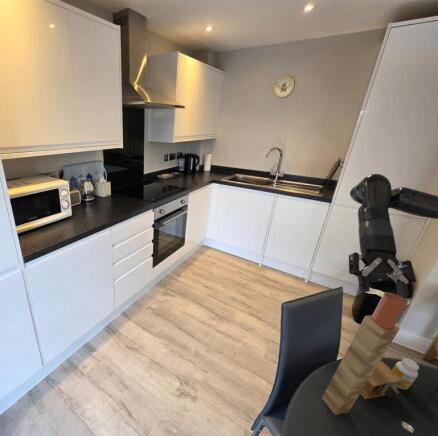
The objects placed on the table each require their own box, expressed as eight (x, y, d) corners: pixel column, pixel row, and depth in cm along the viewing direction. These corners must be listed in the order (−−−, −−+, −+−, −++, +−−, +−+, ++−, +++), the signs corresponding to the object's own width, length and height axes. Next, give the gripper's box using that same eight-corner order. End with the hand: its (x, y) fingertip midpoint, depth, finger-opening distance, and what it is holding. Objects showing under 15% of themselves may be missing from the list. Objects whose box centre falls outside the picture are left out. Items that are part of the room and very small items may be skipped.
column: (334, 395, 80) (379, 314, 67) (348, 412, 76) (400, 328, 62) (321, 398, 79) (364, 315, 66) (335, 415, 75) (384, 330, 61)
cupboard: (372, 373, 88) (381, 360, 86) (393, 393, 82) (403, 379, 79) (345, 378, 86) (353, 364, 83) (365, 399, 80) (374, 385, 77)
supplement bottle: (385, 371, 89) (397, 353, 86) (405, 380, 87) (418, 361, 83) (390, 384, 85) (403, 365, 81) (410, 393, 83) (425, 373, 79)
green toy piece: (390, 390, 82) (397, 381, 80) (400, 400, 79) (407, 390, 77) (379, 393, 81) (385, 383, 79) (389, 402, 78) (396, 392, 76)
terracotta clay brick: (379, 315, 66) (393, 291, 63) (397, 327, 62) (412, 303, 59) (367, 316, 66) (379, 292, 63) (384, 329, 62) (398, 304, 59)
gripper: (394, 246, 73) (403, 301, 67) (340, 238, 76) (345, 291, 70) (416, 237, 66) (428, 299, 60) (356, 229, 69) (362, 287, 63)
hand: (383, 294), depth 65 cm, fingers open, 8 cm apart
